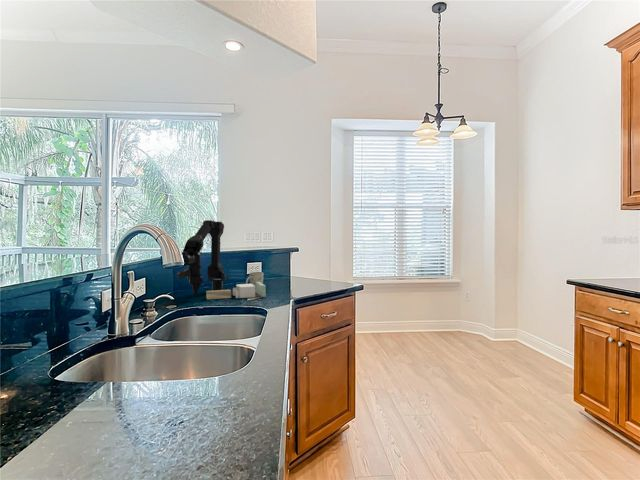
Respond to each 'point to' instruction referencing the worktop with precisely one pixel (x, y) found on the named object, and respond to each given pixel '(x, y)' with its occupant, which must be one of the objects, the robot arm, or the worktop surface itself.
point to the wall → (261, 289)
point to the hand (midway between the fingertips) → (195, 294)
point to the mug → (255, 278)
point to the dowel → (218, 294)
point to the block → (244, 290)
